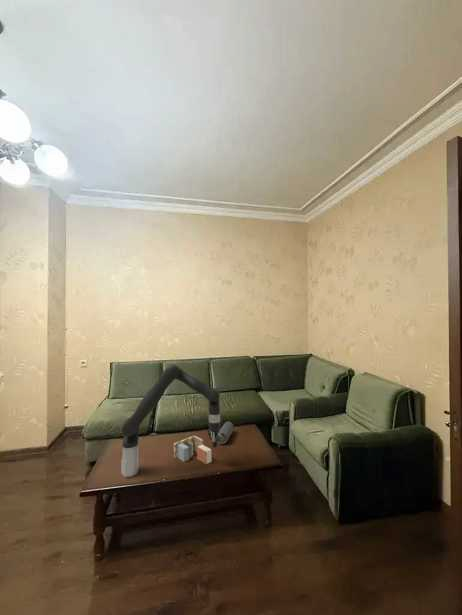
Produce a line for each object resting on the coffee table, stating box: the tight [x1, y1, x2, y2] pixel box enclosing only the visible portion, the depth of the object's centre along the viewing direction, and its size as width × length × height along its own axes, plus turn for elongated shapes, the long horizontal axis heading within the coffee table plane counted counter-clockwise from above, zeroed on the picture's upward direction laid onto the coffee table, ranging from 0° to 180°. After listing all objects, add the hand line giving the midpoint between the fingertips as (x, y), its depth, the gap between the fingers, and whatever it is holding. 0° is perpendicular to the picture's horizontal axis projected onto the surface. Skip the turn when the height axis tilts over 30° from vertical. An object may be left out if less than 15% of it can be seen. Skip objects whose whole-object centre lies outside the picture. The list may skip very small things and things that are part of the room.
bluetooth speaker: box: [217, 421, 235, 445], centre depth 216 cm, size 23×9×10 cm, turn 167°
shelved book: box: [176, 443, 190, 463], centre depth 186 cm, size 4×8×8 cm, turn 44°
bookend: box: [186, 441, 194, 459], centre depth 190 cm, size 4×7×9 cm, turn 44°
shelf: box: [173, 435, 204, 459], centre depth 190 cm, size 18×10×10 cm, turn 134°
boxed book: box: [196, 444, 213, 465], centre depth 184 cm, size 10×4×8 cm, turn 44°
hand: (214, 447), depth 177 cm, fingers closed
